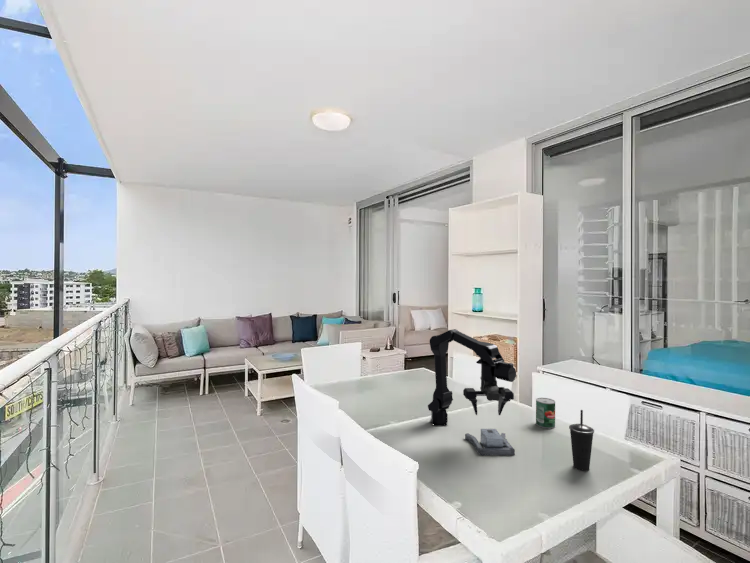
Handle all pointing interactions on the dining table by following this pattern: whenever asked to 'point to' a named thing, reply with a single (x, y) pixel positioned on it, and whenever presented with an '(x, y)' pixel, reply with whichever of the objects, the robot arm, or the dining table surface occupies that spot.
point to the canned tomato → (545, 412)
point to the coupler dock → (491, 451)
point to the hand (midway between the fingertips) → (487, 414)
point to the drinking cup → (581, 444)
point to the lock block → (491, 438)
